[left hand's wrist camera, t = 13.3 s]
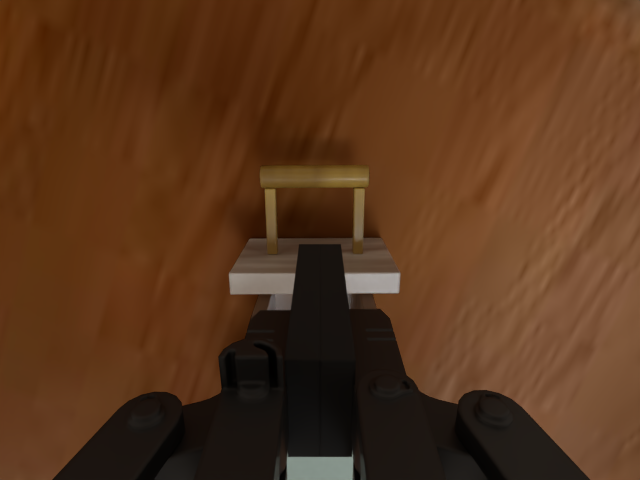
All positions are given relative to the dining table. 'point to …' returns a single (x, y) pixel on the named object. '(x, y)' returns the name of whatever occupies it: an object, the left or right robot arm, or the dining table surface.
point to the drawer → (281, 253)
